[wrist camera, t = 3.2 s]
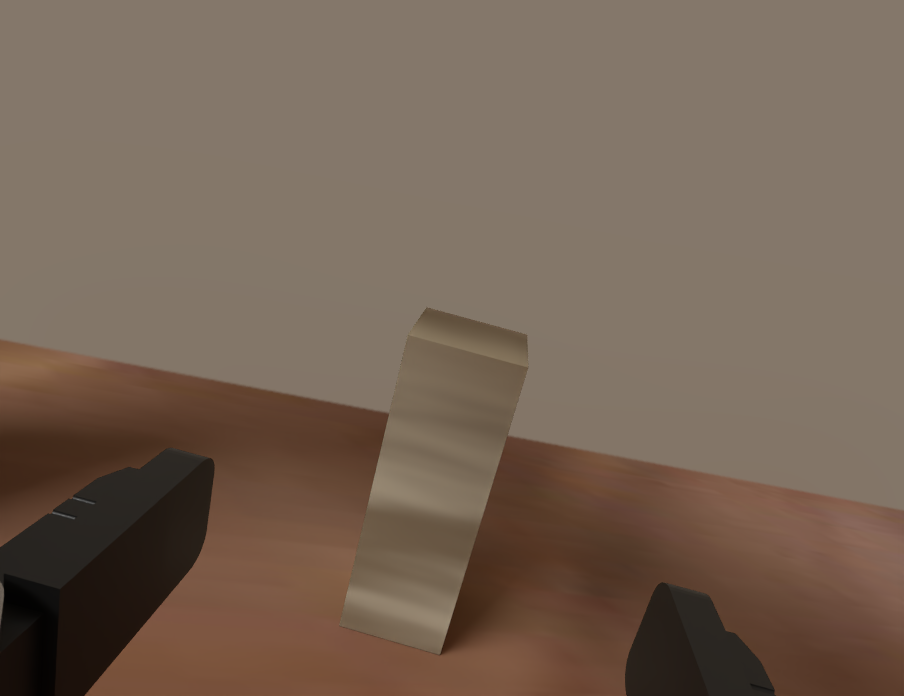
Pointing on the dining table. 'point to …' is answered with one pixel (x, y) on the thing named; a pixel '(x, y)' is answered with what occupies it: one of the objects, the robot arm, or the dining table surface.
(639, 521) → the dining table surface
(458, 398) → the beige rectangular block
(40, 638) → the robot arm
